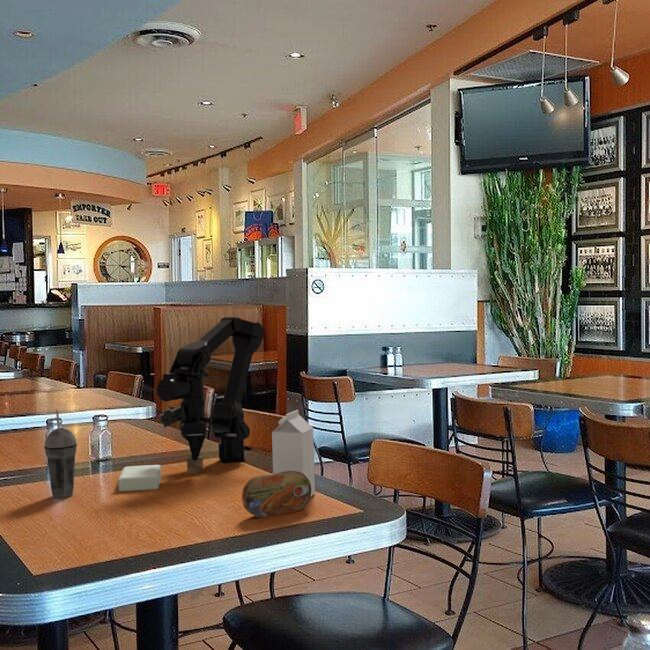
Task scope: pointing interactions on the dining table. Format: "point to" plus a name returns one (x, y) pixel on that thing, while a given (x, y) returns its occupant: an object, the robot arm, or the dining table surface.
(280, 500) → the tin
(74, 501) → the dining table surface
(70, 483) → the beverage cup
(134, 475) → the plinth
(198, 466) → the walnut block
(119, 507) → the dining table surface
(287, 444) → the milk carton
